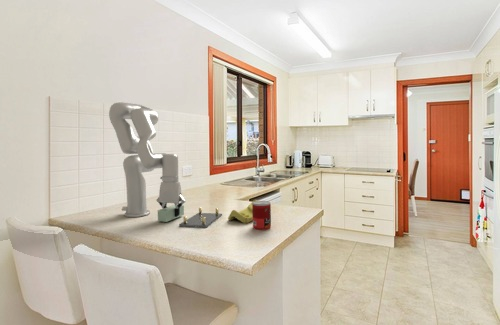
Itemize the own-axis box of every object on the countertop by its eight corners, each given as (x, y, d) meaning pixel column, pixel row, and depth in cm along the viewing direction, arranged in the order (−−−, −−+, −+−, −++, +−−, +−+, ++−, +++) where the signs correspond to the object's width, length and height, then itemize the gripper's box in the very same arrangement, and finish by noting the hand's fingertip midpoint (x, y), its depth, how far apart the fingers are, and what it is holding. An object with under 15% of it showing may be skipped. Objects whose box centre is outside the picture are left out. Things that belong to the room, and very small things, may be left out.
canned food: (268, 230, 123) (267, 204, 122) (250, 229, 126) (249, 203, 125) (273, 225, 130) (272, 201, 130) (256, 224, 133) (255, 200, 132)
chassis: (179, 226, 132) (178, 217, 132) (198, 214, 154) (198, 207, 154) (206, 227, 129) (206, 218, 129) (222, 215, 151) (221, 207, 151)
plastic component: (247, 219, 133) (230, 208, 138) (242, 232, 136) (226, 220, 140) (268, 207, 150) (253, 197, 154) (264, 219, 153) (249, 209, 157)
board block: (157, 220, 140) (157, 210, 140) (175, 213, 153) (175, 204, 152) (166, 221, 138) (166, 211, 138) (183, 214, 151) (183, 205, 151)
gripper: (150, 179, 142) (151, 216, 144) (183, 180, 138) (184, 218, 140) (158, 177, 149) (159, 212, 151) (190, 178, 146) (190, 214, 147)
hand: (171, 215), depth 145 cm, fingers closed on board block, 5 cm apart
